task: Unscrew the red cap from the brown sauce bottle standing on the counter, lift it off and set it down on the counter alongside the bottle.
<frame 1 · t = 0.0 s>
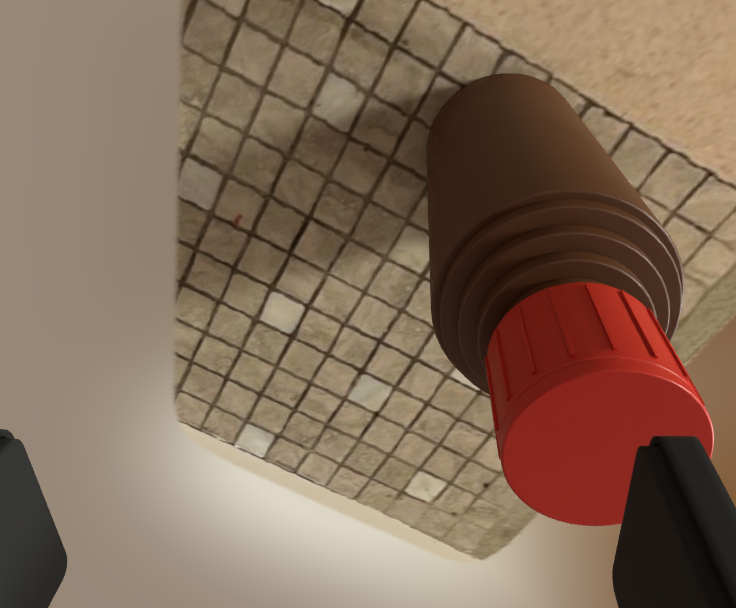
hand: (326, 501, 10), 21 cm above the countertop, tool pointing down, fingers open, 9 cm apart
sauce bottle: (502, 151, 29), on the countertop
cap: (600, 440, 13), point 18 cm above the countertop, screwed on, not yet turned
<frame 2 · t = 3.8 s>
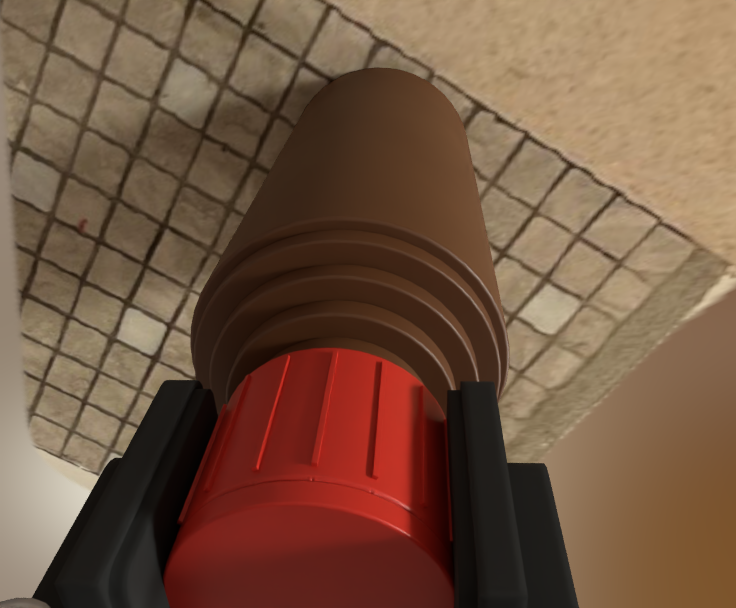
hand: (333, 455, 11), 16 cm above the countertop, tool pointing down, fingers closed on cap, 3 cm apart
sauce bottle: (380, 158, 25), on the countertop
cap: (313, 583, 9), point 18 cm above the countertop, screwed on, not yet turned, touching gripper
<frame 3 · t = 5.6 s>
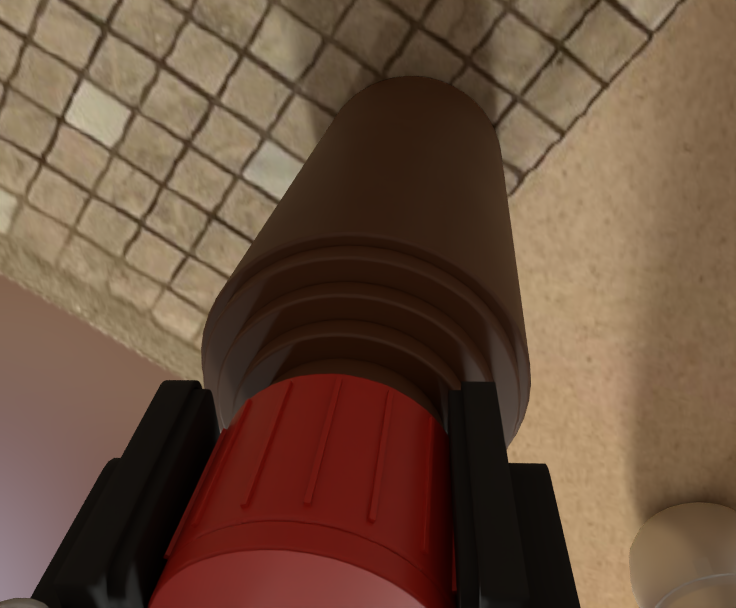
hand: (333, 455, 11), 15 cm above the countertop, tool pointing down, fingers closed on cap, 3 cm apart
silver water bottle: (687, 529, 32), on the countertop
sauce bottle: (410, 168, 24), on the countertop
when the fingers open (15 cm above the countertop, at t = 11.7 s): cap stays where it is, point 18 cm above the countertop.
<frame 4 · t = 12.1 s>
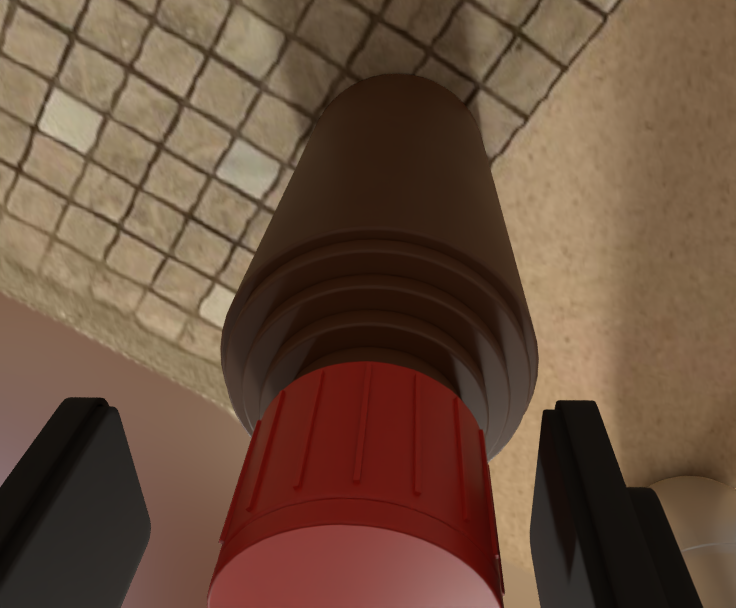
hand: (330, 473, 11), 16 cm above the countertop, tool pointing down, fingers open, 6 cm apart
silver water bottle: (675, 504, 33), on the countertop
sauce bottle: (396, 163, 25), on the countertop
cap: (356, 600, 9), point 18 cm above the countertop, turned 94° so far, risen 0.1 cm, still on its thread
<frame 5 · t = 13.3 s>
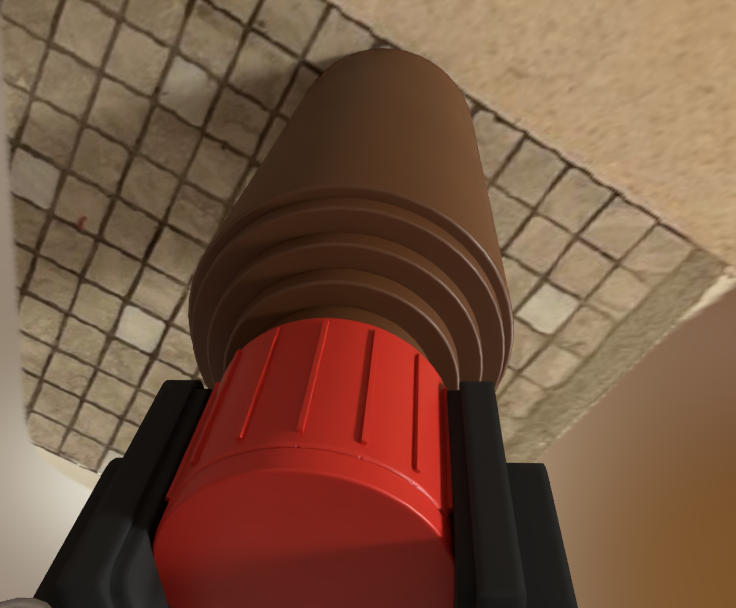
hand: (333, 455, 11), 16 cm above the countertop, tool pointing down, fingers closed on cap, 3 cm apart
sauce bottle: (384, 141, 24), on the countertop
cap: (308, 558, 9), point 18 cm above the countertop, turned 94° so far, risen 0.1 cm, still on its thread, touching gripper
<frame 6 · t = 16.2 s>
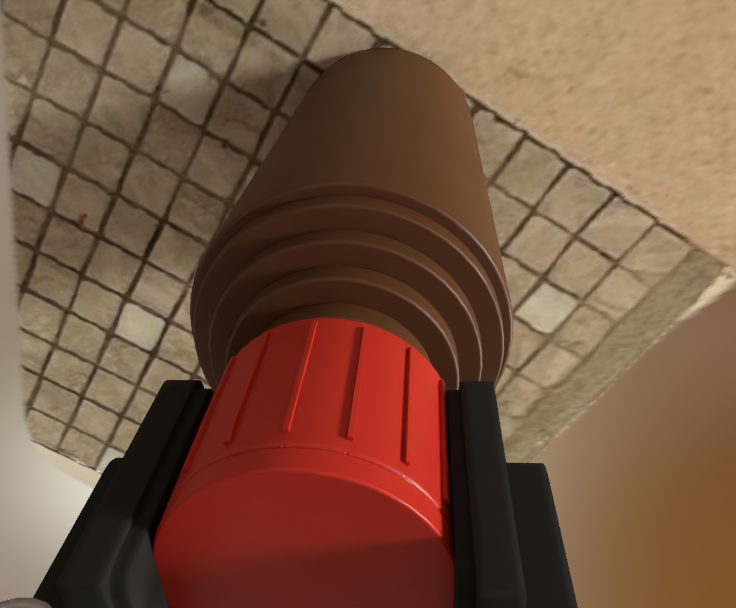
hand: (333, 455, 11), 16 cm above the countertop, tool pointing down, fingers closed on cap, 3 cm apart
sauce bottle: (384, 140, 25), on the countertop
cap: (308, 558, 9), point 18 cm above the countertop, turned 189° so far, risen 0.2 cm, still on its thread, touching gripper
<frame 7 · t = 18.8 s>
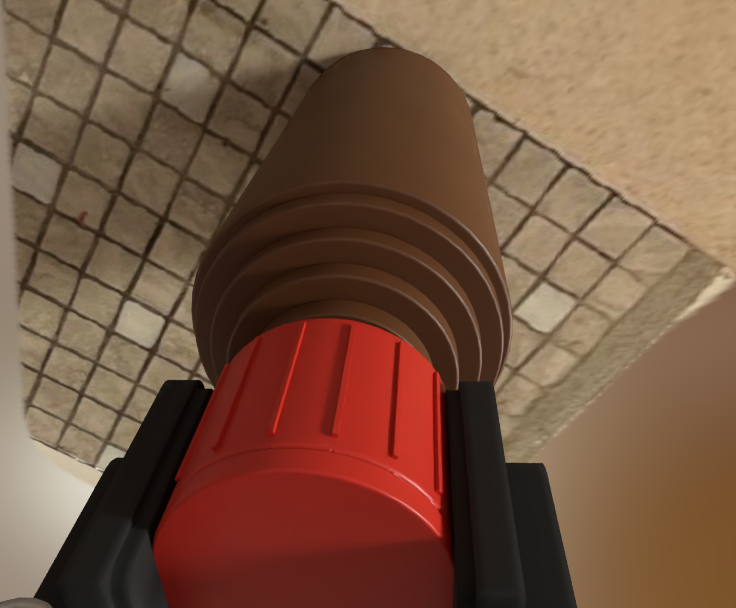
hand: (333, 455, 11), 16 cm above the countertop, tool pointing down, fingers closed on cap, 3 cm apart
sauce bottle: (384, 139, 25), on the countertop
cap: (308, 559, 9), point 18 cm above the countertop, turned 285° so far, risen 0.3 cm, still on its thread, touching gripper
when the fingers open (3 cm above the countertop, at t = 29.6 s): cap drops 2 cm, point 3 cm above the countertop.
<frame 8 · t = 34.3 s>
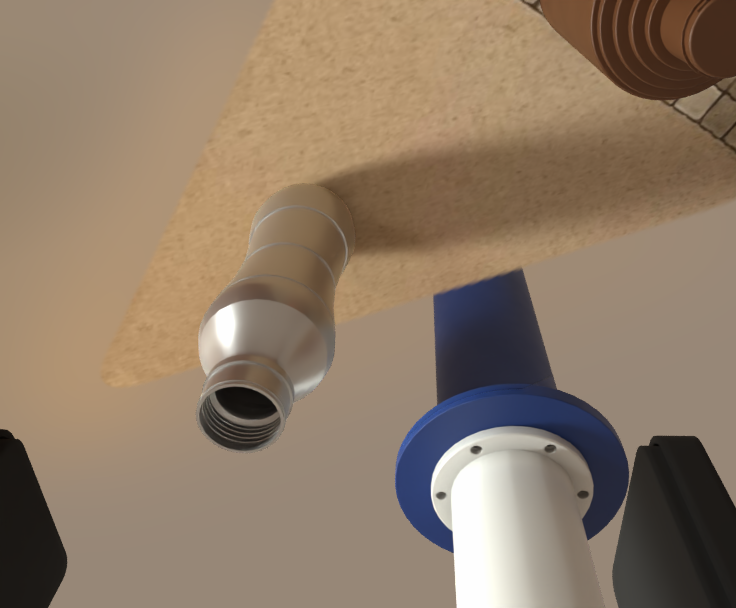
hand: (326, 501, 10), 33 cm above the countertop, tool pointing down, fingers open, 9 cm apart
silver water bottle: (309, 219, 45), on the countertop
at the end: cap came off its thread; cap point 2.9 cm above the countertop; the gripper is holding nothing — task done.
